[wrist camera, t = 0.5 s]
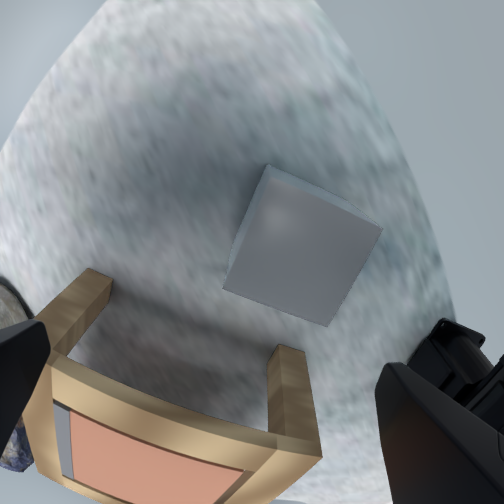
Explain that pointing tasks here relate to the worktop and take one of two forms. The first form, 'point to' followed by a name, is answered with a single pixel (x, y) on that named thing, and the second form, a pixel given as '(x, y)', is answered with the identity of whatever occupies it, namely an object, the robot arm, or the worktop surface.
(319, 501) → the worktop surface
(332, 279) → the grey block
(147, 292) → the worktop surface
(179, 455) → the trapdoor
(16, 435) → the rock
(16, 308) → the fossilized seashell
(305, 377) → the trapdoor frame
